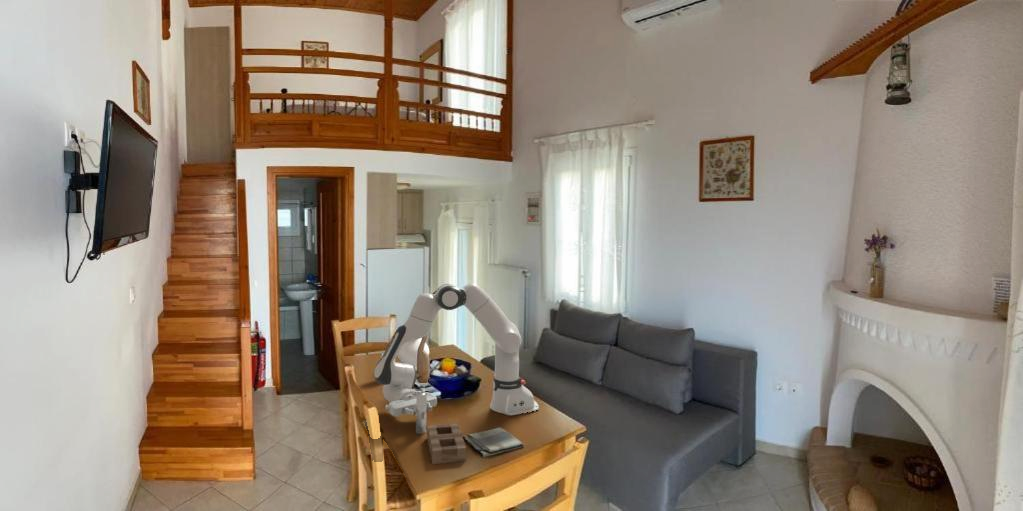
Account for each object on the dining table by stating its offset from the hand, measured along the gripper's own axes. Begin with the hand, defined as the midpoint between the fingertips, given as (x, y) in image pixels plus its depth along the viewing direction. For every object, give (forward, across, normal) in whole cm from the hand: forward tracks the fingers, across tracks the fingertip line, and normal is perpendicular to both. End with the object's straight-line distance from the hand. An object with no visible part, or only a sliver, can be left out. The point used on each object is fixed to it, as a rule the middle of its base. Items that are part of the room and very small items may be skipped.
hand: (422, 411), depth 196 cm
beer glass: (-63, +16, +9) cm, 66 cm away
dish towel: (+23, +18, +10) cm, 31 cm away
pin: (-1, 0, +9) cm, 9 cm away
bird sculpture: (-42, +25, +9) cm, 50 cm away
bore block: (+17, 0, +9) cm, 19 cm away
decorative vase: (-73, +36, +9) cm, 82 cm away
